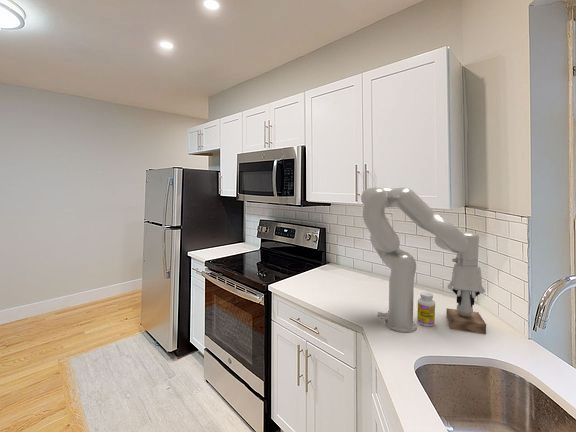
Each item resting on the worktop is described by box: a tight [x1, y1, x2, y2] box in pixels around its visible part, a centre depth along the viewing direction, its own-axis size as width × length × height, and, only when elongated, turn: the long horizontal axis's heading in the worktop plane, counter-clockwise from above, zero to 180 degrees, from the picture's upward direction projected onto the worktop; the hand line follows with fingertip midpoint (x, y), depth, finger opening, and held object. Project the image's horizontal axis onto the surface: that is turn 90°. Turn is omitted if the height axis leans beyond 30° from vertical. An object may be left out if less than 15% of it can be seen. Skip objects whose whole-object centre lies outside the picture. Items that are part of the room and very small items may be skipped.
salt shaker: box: [456, 290, 474, 317], centre depth 115 cm, size 6×6×13 cm
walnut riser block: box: [445, 308, 487, 335], centre depth 116 cm, size 12×12×4 cm
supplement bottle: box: [416, 291, 436, 327], centre depth 118 cm, size 7×7×13 cm
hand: (465, 305), depth 116 cm, fingers open, 3 cm apart
